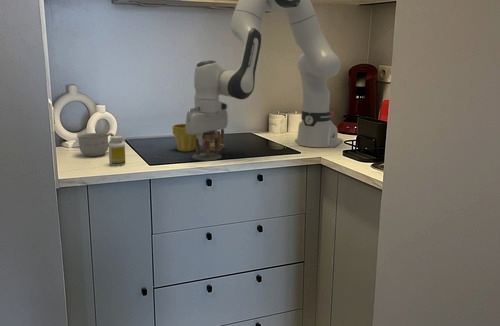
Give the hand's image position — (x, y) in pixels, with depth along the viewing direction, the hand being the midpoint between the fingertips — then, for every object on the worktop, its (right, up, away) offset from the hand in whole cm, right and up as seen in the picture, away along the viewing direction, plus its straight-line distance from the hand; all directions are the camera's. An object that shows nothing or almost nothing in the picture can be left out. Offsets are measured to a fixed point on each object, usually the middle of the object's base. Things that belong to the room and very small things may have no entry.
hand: (207, 143), depth 186 cm
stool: (0, -4, +1) cm, 4 cm away
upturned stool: (+2, -2, +15) cm, 16 cm away
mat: (0, -5, +1) cm, 5 cm away
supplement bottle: (-30, -8, -11) cm, 33 cm away
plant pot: (-9, -2, +14) cm, 17 cm away
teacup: (-41, -4, +3) cm, 42 cm away
